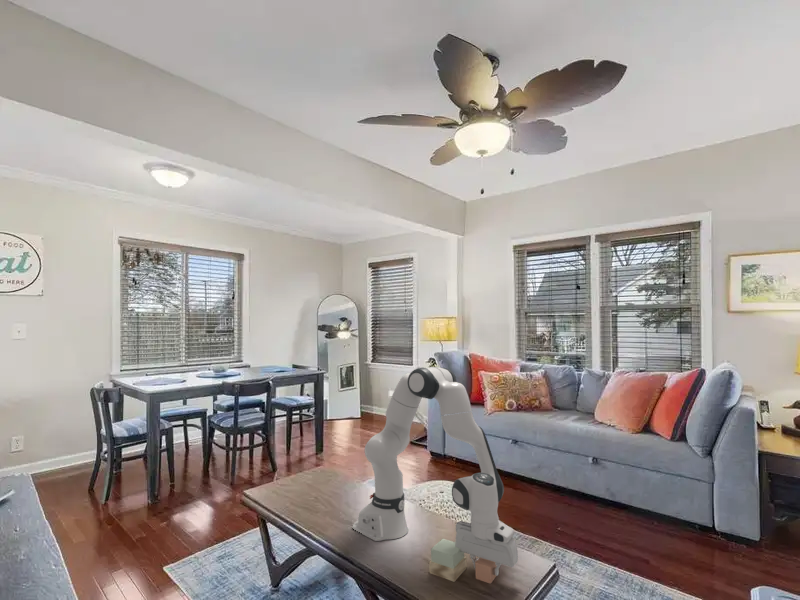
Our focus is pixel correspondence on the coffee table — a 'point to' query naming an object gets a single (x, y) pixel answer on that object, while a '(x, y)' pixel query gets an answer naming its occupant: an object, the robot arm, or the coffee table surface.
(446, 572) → the tower base
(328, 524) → the coffee table surface
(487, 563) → the terracotta block
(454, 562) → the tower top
